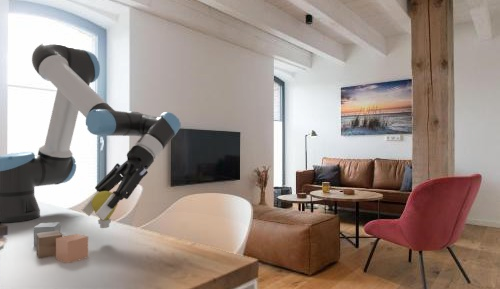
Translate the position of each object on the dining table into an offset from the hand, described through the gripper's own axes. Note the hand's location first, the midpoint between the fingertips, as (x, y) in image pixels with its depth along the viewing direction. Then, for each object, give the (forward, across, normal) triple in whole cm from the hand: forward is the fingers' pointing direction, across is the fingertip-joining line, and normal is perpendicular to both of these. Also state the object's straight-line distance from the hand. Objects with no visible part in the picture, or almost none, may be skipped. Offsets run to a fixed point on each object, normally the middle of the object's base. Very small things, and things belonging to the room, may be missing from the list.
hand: (92, 214), depth 94 cm
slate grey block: (+11, +11, -1) cm, 16 cm away
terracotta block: (+12, -7, 0) cm, 13 cm away
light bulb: (+1, 0, -6) cm, 6 cm away
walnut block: (+13, +1, +2) cm, 13 cm away
